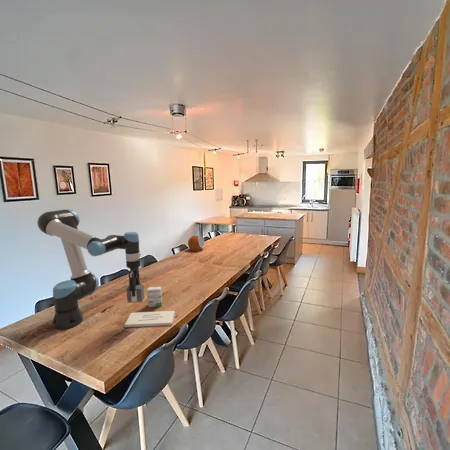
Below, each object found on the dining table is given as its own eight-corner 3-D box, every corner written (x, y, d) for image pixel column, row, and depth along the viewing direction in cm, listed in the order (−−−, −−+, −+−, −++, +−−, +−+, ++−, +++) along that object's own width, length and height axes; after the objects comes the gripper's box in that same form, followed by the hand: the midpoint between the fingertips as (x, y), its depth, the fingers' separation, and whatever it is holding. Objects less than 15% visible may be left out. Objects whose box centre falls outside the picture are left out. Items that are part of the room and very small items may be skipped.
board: (124, 327, 153) (124, 324, 153) (131, 314, 167) (131, 312, 167) (172, 325, 155) (172, 322, 155) (174, 313, 169) (174, 310, 168)
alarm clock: (199, 252, 309) (199, 237, 306) (185, 251, 315) (185, 236, 312) (206, 248, 326) (206, 234, 324) (193, 247, 333) (193, 233, 330)
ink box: (162, 303, 182) (161, 286, 180) (161, 306, 177) (160, 289, 176) (149, 303, 182) (148, 286, 180) (147, 307, 177) (146, 289, 175)
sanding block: (127, 302, 155) (126, 289, 154) (130, 298, 161) (129, 285, 160) (141, 302, 156) (141, 288, 154) (144, 297, 161) (143, 284, 160)
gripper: (135, 264, 145) (138, 305, 149) (143, 255, 164) (146, 291, 168) (121, 265, 145) (124, 306, 148) (130, 255, 163) (133, 292, 167)
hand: (135, 298), depth 158 cm, fingers closed on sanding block, 6 cm apart
